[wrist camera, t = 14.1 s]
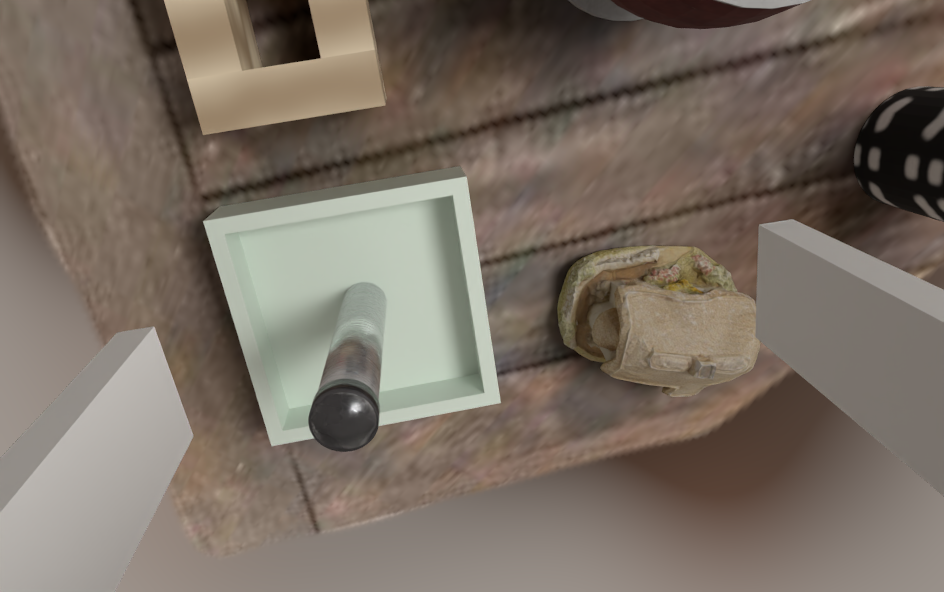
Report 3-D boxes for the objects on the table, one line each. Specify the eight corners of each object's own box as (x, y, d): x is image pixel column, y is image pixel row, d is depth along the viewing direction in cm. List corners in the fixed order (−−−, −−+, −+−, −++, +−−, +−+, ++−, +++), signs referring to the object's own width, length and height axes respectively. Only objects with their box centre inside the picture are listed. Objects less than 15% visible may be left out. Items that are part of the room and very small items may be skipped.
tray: (219, 206, 43) (203, 221, 39) (460, 166, 44) (466, 176, 40) (281, 416, 49) (271, 446, 45) (492, 376, 49) (500, 402, 46)
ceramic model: (753, 252, 48) (838, 299, 39) (711, 386, 52) (780, 459, 43) (571, 228, 46) (616, 272, 37) (540, 370, 50) (574, 443, 41)
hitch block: (180, -54, 38) (143, -72, 32) (353, -79, 38) (346, -102, 33) (229, 123, 41) (203, 135, 36) (386, 98, 42) (385, 105, 36)
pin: (336, 284, 45) (301, 397, 30) (383, 276, 45) (371, 385, 30) (346, 327, 46) (317, 457, 31) (392, 319, 46) (384, 444, 31)
